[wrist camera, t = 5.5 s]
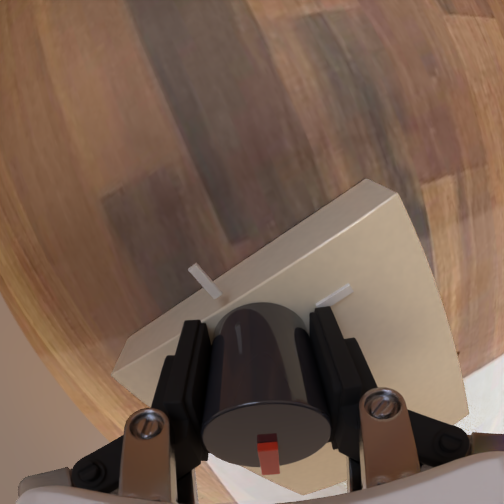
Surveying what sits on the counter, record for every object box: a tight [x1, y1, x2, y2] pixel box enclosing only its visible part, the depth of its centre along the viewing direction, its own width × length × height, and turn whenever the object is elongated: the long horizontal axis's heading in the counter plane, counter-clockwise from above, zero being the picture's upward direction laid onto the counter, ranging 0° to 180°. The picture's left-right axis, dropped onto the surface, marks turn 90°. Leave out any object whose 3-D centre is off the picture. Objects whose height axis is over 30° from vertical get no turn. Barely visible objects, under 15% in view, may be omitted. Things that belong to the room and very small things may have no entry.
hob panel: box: [111, 178, 469, 495], centre depth 15 cm, size 14×20×3 cm
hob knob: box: [200, 302, 333, 475], centre depth 9 cm, size 4×4×5 cm
